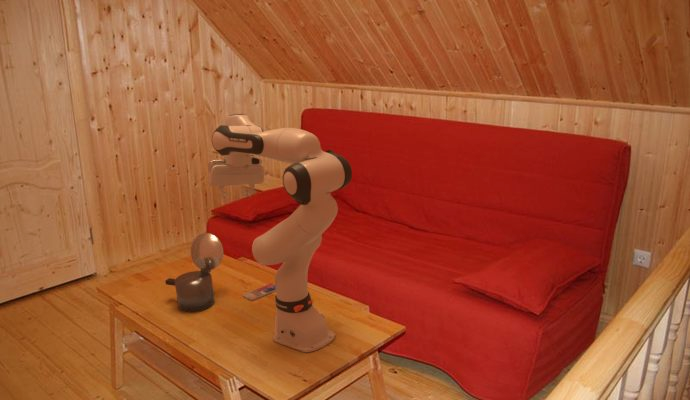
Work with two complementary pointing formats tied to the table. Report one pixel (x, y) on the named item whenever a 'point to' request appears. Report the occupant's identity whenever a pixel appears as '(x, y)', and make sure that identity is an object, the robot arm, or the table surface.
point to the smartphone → (260, 292)
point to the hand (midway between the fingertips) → (236, 196)
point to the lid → (207, 251)
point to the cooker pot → (193, 291)
